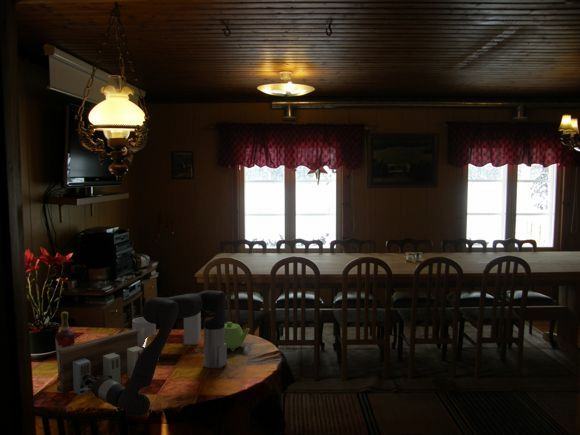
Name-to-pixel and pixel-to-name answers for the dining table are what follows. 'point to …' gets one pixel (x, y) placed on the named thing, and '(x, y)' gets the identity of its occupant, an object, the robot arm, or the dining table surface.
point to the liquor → (64, 338)
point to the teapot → (234, 335)
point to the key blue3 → (80, 374)
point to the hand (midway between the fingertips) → (85, 377)
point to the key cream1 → (132, 359)
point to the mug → (143, 329)
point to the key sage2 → (112, 366)
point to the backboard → (94, 356)
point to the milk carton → (192, 329)
